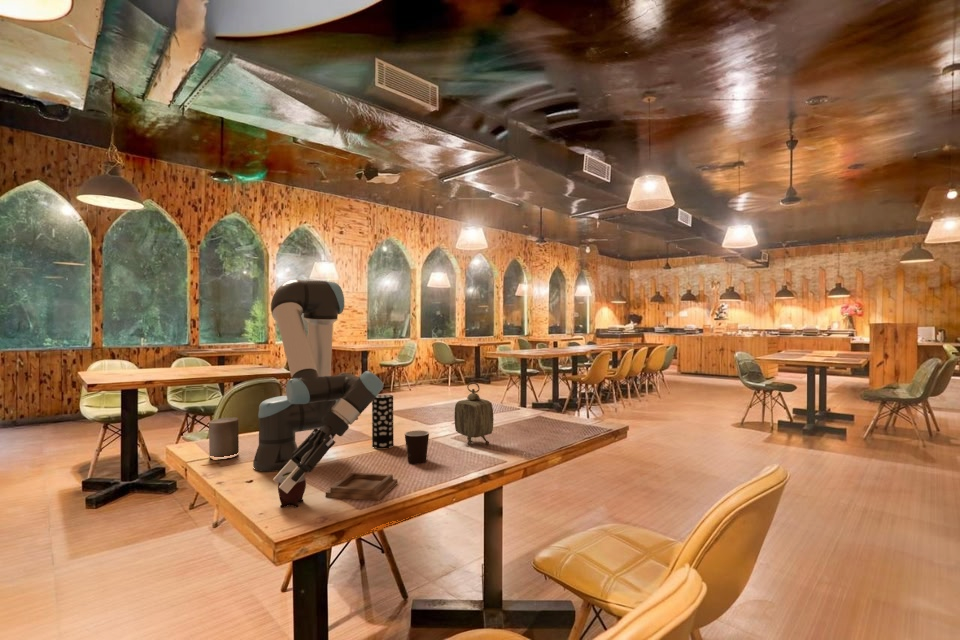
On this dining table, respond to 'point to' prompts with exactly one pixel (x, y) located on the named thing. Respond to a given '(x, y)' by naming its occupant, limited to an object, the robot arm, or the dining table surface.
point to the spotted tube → (382, 421)
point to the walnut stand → (362, 486)
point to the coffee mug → (416, 446)
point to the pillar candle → (223, 437)
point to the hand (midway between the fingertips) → (280, 486)
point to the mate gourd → (292, 490)
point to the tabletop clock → (474, 416)
